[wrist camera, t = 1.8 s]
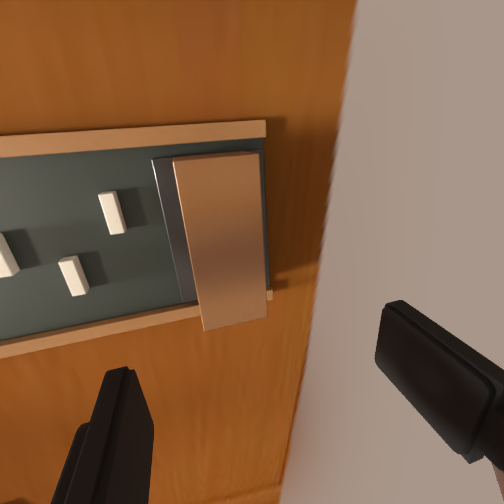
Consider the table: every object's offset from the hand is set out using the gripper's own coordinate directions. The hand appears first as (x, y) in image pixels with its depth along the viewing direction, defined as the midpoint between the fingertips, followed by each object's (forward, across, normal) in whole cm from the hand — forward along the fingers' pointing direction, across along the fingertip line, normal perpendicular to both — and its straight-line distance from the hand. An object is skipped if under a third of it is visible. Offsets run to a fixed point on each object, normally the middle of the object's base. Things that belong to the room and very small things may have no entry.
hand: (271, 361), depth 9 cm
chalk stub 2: (+14, +12, +1) cm, 18 cm away
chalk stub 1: (+14, +16, -1) cm, 21 cm away
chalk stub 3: (+14, +8, -3) cm, 17 cm away
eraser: (+14, 0, -1) cm, 14 cm away
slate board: (+15, +8, -1) cm, 17 cm away
